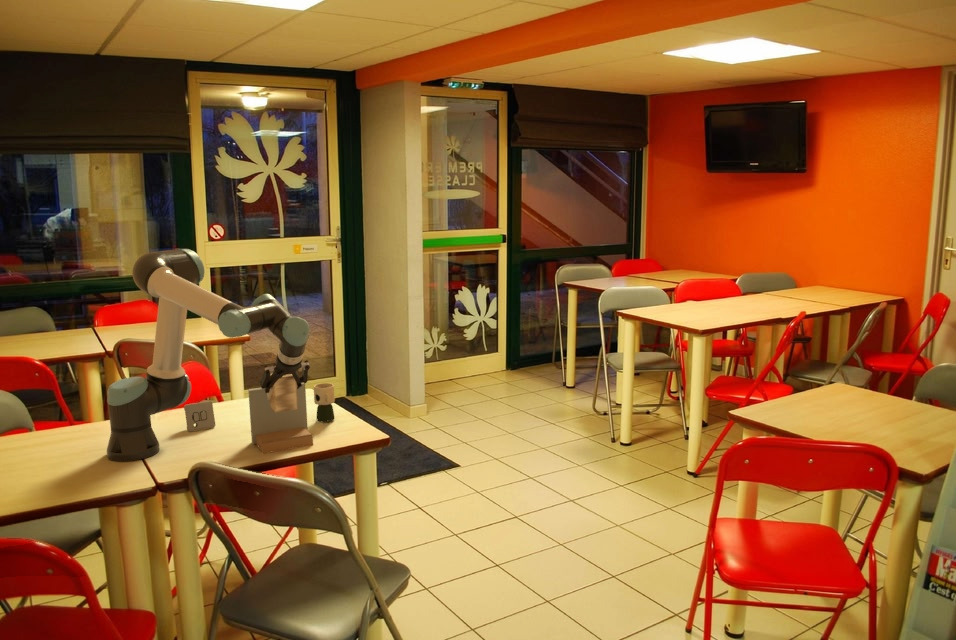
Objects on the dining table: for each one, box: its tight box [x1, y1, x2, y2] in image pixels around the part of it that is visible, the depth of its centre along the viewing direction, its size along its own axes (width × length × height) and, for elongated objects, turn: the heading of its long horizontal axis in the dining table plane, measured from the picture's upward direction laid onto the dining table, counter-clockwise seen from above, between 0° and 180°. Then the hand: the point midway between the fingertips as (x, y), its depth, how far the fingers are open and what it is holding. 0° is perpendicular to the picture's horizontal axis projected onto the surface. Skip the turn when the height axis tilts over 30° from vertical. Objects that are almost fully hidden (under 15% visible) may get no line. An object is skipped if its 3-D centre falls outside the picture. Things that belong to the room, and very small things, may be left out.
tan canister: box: [270, 374, 298, 412], centre depth 247 cm, size 7×7×12 cm
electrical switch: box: [183, 400, 216, 433], centre depth 269 cm, size 9×5×9 cm, turn 121°
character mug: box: [313, 382, 336, 423], centre depth 275 cm, size 11×7×13 cm, turn 25°
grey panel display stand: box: [248, 383, 314, 454], centre depth 251 cm, size 18×12×18 cm, turn 117°
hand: (280, 394), depth 250 cm, fingers closed on tan canister, 7 cm apart
